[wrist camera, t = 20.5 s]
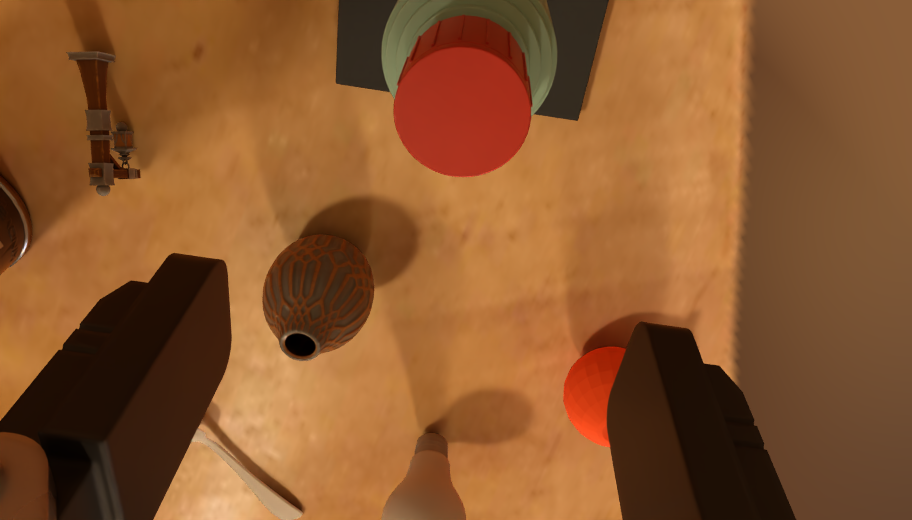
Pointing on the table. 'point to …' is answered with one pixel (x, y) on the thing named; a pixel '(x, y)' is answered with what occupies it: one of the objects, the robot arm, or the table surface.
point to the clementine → (592, 391)
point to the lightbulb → (426, 486)
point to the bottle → (506, 3)
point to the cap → (464, 97)
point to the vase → (317, 295)
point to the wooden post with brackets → (103, 124)
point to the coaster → (575, 25)
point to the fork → (253, 482)
